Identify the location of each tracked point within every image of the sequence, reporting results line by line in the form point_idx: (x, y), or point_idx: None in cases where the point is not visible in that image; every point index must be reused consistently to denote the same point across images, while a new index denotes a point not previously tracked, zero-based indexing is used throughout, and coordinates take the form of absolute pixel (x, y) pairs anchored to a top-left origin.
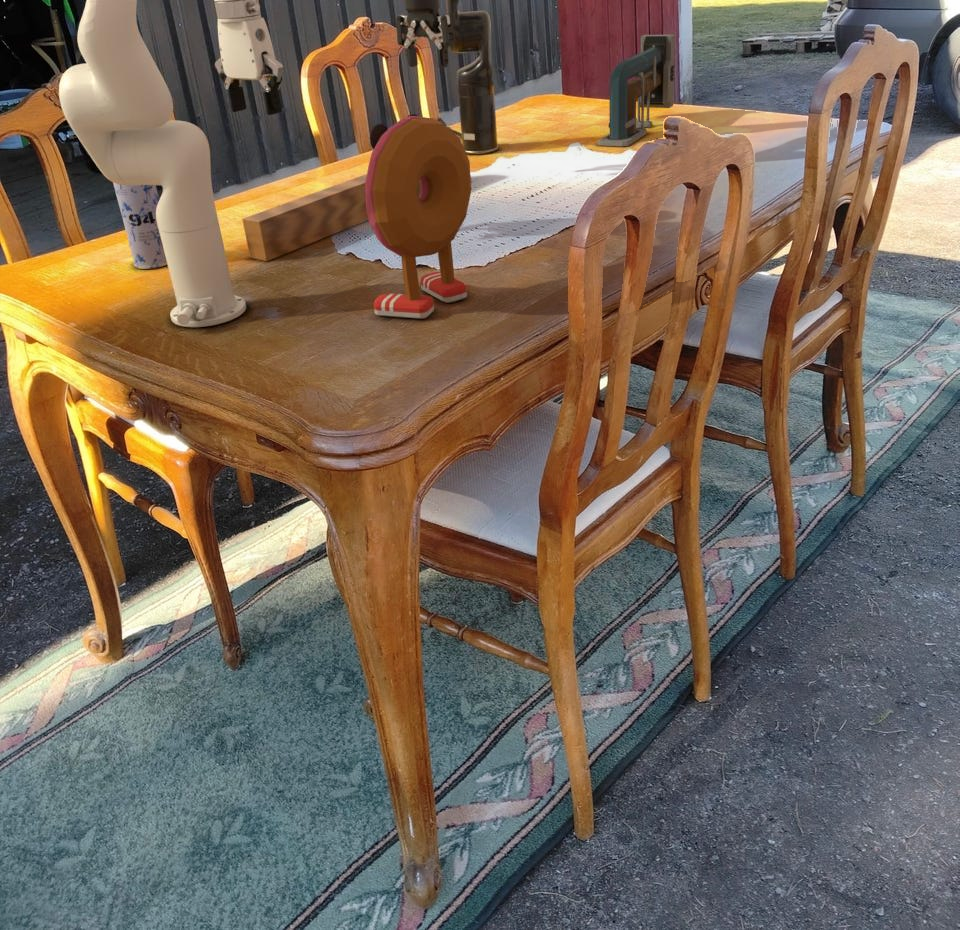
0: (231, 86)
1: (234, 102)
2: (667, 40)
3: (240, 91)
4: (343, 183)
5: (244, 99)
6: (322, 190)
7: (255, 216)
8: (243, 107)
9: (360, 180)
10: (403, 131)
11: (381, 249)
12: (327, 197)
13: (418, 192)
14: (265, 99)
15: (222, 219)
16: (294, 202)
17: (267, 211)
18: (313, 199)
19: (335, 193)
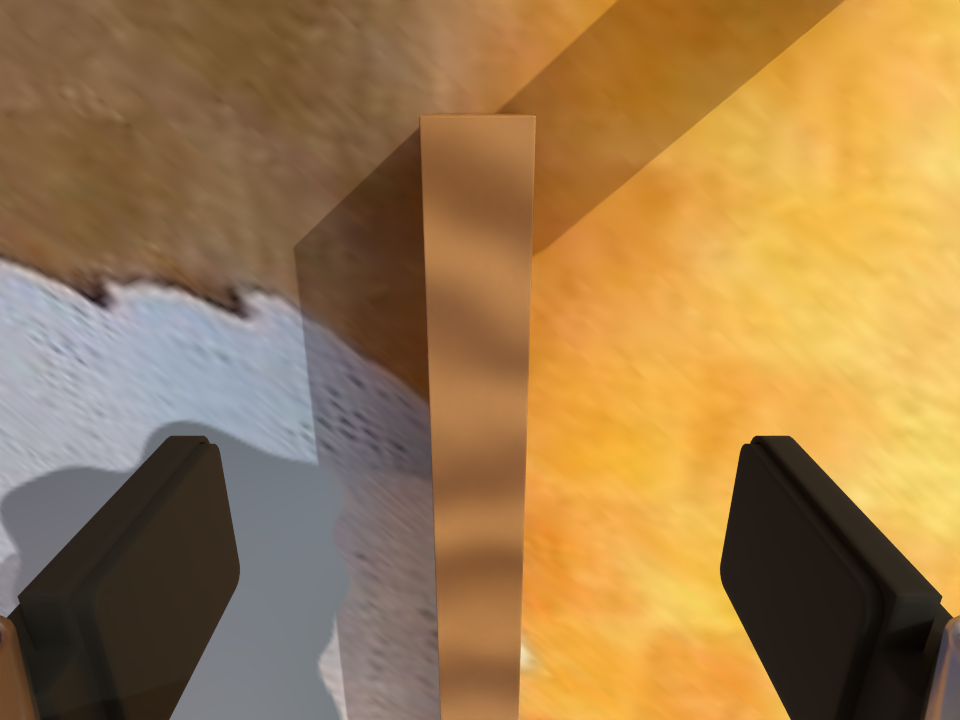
0: (919, 683)
1: (780, 510)
2: None
3: (807, 696)
4: (507, 622)
5: (756, 641)
6: (515, 538)
7: (501, 169)
8: (731, 557)
9: (476, 664)
10: None
11: (182, 379)
12: (433, 489)
13: None
14: (101, 528)
15: (956, 387)
16: (498, 388)
17: (509, 249)
18: (454, 444)
19: (435, 528)
